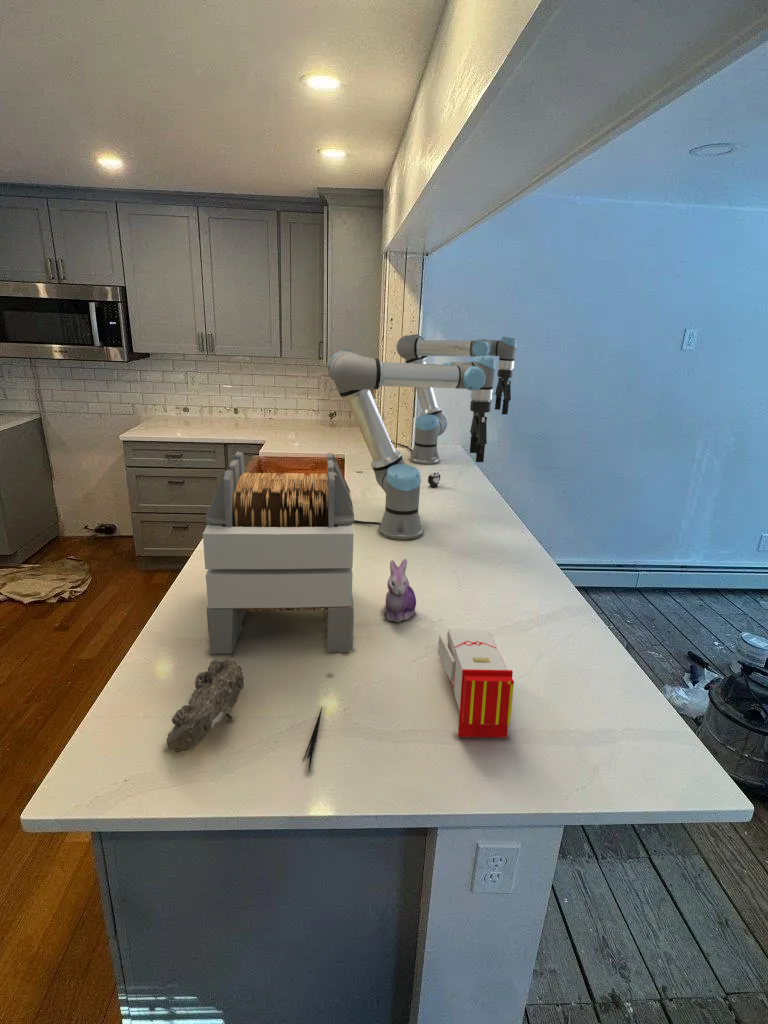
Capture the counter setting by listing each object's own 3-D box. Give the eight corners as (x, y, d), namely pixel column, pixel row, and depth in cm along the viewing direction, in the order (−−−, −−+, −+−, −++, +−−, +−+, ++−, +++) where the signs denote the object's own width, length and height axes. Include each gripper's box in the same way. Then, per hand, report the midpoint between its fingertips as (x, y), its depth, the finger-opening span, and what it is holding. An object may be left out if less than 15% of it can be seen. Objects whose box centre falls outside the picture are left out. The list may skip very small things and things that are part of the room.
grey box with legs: (229, 585, 158) (221, 442, 144) (346, 584, 161) (350, 444, 148) (206, 656, 126) (193, 481, 112) (353, 652, 130) (358, 483, 116)
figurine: (392, 627, 141) (395, 572, 136) (374, 608, 149) (376, 556, 144) (425, 619, 145) (429, 566, 140) (405, 601, 154) (408, 550, 149)
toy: (488, 613, 130) (523, 677, 101) (484, 667, 133) (517, 744, 104) (435, 612, 130) (455, 676, 101) (432, 666, 133) (451, 743, 103)
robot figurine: (427, 488, 252) (428, 471, 250) (426, 485, 257) (427, 469, 254) (441, 488, 253) (442, 472, 250) (439, 485, 257) (440, 469, 255)
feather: (331, 679, 122) (336, 673, 122) (307, 777, 96) (313, 769, 95) (324, 675, 122) (329, 669, 121) (298, 772, 95) (304, 764, 95)
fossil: (192, 660, 117) (244, 628, 112) (224, 691, 120) (276, 661, 115) (142, 746, 98) (202, 712, 93) (182, 779, 101) (242, 748, 96)
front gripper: (498, 406, 194) (492, 466, 201) (485, 395, 217) (480, 449, 224) (476, 405, 194) (471, 465, 201) (465, 394, 217) (461, 449, 224)
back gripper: (520, 372, 270) (515, 416, 277) (506, 366, 294) (501, 407, 301) (505, 371, 270) (500, 416, 277) (492, 366, 293) (487, 407, 300)
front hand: (476, 457), depth 213 cm, fingers open, 13 cm apart
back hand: (500, 411), depth 289 cm, fingers open, 13 cm apart
